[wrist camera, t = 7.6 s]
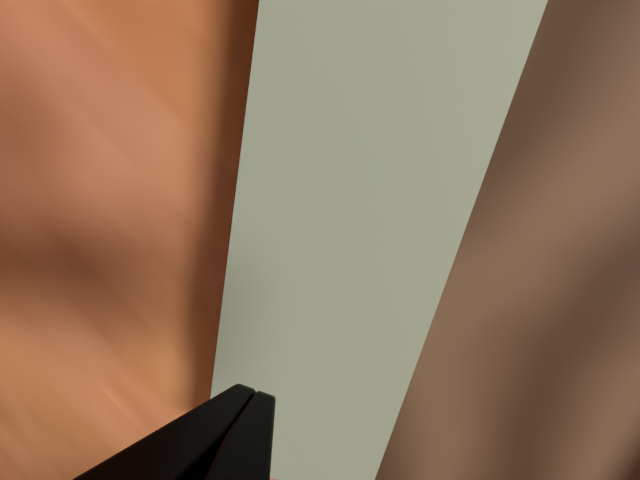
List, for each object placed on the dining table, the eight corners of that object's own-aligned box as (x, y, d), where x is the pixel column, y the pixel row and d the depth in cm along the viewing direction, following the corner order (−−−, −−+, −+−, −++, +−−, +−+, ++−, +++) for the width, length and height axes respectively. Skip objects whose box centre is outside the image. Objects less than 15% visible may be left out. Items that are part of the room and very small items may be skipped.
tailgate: (594, -129, 10) (280, -175, 11) (363, 509, 19) (203, 454, 20) (568, -98, 11) (298, -140, 12) (367, 475, 20) (219, 426, 21)
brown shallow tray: (1106, -77, 10) (1395, -150, 7) (605, 571, 20) (636, 655, 17) (579, -138, 12) (629, -216, 9) (364, 480, 22) (354, 540, 19)
